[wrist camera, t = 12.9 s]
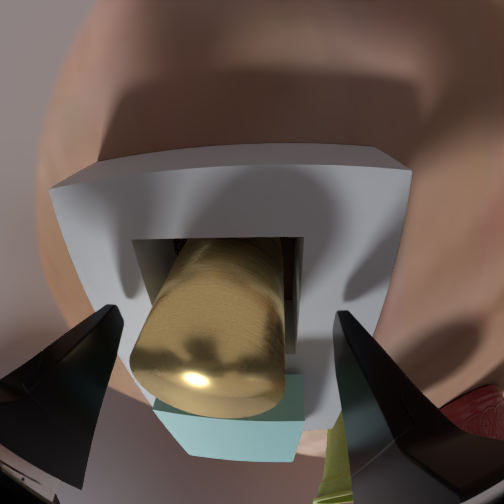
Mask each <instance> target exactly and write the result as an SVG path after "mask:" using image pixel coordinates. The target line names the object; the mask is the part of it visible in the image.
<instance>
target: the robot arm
mask: <svg viewBox="0 0 504 504" xmlns="http://www.w3.org/2000/svg"><path fill="white" fill-rule="evenodd" d="M123 328H124V319H123V317H122V315H121V313H120V310H119V308H118V306H117V305H115V304H106V305H105V306H103V307H102V308H100V309H99V310H98V311H96V312H95V313H93V314H92V315H90V316H89V317H88V318H86V319H85V320H83V321H82V322H81V323H79V324H78V325H76V326H75V327H74V328H72V329H71V330H70V331H68V332H67V333H65V334H64V335H63V336H61V337H60V338H59V339H57V340H56V341H54V342H53V343H52V344H51V345H49V346H48V347H47V348H45V349H44V350H43V351H41V352H40V353H38V354H37V355H36V356H34V357H33V358H32V359H30V360H29V361H27V362H26V363H25V364H23V365H22V366H20V367H19V368H17V369H15V370H14V371H12V372H11V373H9V374H8V375H6V376H5V377H3V378H2V379H0V504H60V502H59V500H58V498H57V496H56V494H55V492H56V489H57V485H58V482H59V480H61V481H63V482H65V483H67V484H69V485H71V486H73V487H76V488H78V489H80V490H82V487H83V482H84V477H85V471H86V467H87V462H88V457H89V453H90V448H91V444H92V439H93V435H94V431H95V428H96V424H97V420H98V416H99V412H100V409H101V406H102V402H103V398H104V395H105V392H106V389H107V385H108V382H109V379H110V376H111V373H112V370H113V367H114V364H115V360H116V357H117V353H118V349H119V344H120V340H121V336H122V332H123ZM332 333H333V347H334V362H335V373H336V380H337V385H338V391H339V397H340V403H341V409H342V415H343V421H344V428H345V435H346V442H347V449H348V457H349V465H350V473H351V483H352V492H353V503H354V504H504V440H501V439H495V438H491V437H486V436H481V435H477V434H473V433H469V432H466V431H464V430H462V429H461V428H459V427H458V426H457V425H455V424H454V423H453V422H452V421H451V420H450V419H449V418H448V417H447V416H446V415H445V414H443V413H442V412H441V411H440V410H439V409H438V408H437V407H436V406H435V405H434V404H433V403H432V402H431V401H430V400H429V399H428V398H427V397H426V396H425V395H424V394H423V393H422V392H421V391H420V390H419V389H418V388H417V387H416V386H415V385H414V383H413V382H412V381H411V380H410V379H409V378H408V377H407V376H406V374H405V373H404V372H403V371H402V370H401V369H400V367H399V366H398V365H397V364H396V363H395V362H394V361H393V359H392V358H391V357H390V356H389V355H388V354H387V353H386V351H385V350H384V349H383V348H382V347H381V346H380V345H379V344H378V342H377V341H376V340H375V339H374V338H373V337H372V336H371V335H370V334H369V332H368V331H367V330H366V329H365V328H364V327H363V326H362V325H361V324H360V322H359V321H358V320H357V319H356V318H355V317H354V316H353V315H352V314H351V313H350V312H349V311H348V310H338V311H336V314H335V318H334V323H333V330H332Z"/></svg>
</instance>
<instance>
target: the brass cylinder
mask: <svg viewBox="0 0 504 504" xmlns="http://www.w3.org/2000/svg"><path fill="white" fill-rule="evenodd" d="M129 364H130V368H131V371H132V373H133V375H134V377H135V378H136V380H137V381H138V382H139V383H140V384H141V386H142V387H143V388H144V389H146V390H147V391H148V392H149V393H150V394H152V395H153V396H155V397H156V398H158V399H159V400H161V401H163V402H165V403H167V404H168V405H171V406H173V407H175V408H178V409H180V410H183V411H186V412H189V413H193V414H197V415H201V416H206V417H214V418H243V417H249V416H254V415H258V414H261V413H263V412H266V411H268V410H270V409H271V408H273V407H275V406H276V405H277V404H278V403H279V402H280V401H281V400H282V398H283V396H284V394H285V318H284V282H283V255H282V244H281V240H280V238H279V237H228V238H187V240H186V241H185V243H184V245H183V247H182V249H181V251H180V253H179V255H178V257H177V258H176V260H175V262H174V264H173V266H172V268H171V270H170V272H169V274H168V276H167V278H166V280H165V282H164V284H163V286H162V288H161V290H160V292H159V294H158V296H157V298H156V300H155V302H154V304H153V306H152V308H151V311H150V313H149V315H148V317H147V319H146V321H145V323H144V325H143V328H142V330H141V332H140V334H139V336H138V339H137V341H136V343H135V345H134V347H133V350H132V352H131V354H130V359H129Z"/></svg>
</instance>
